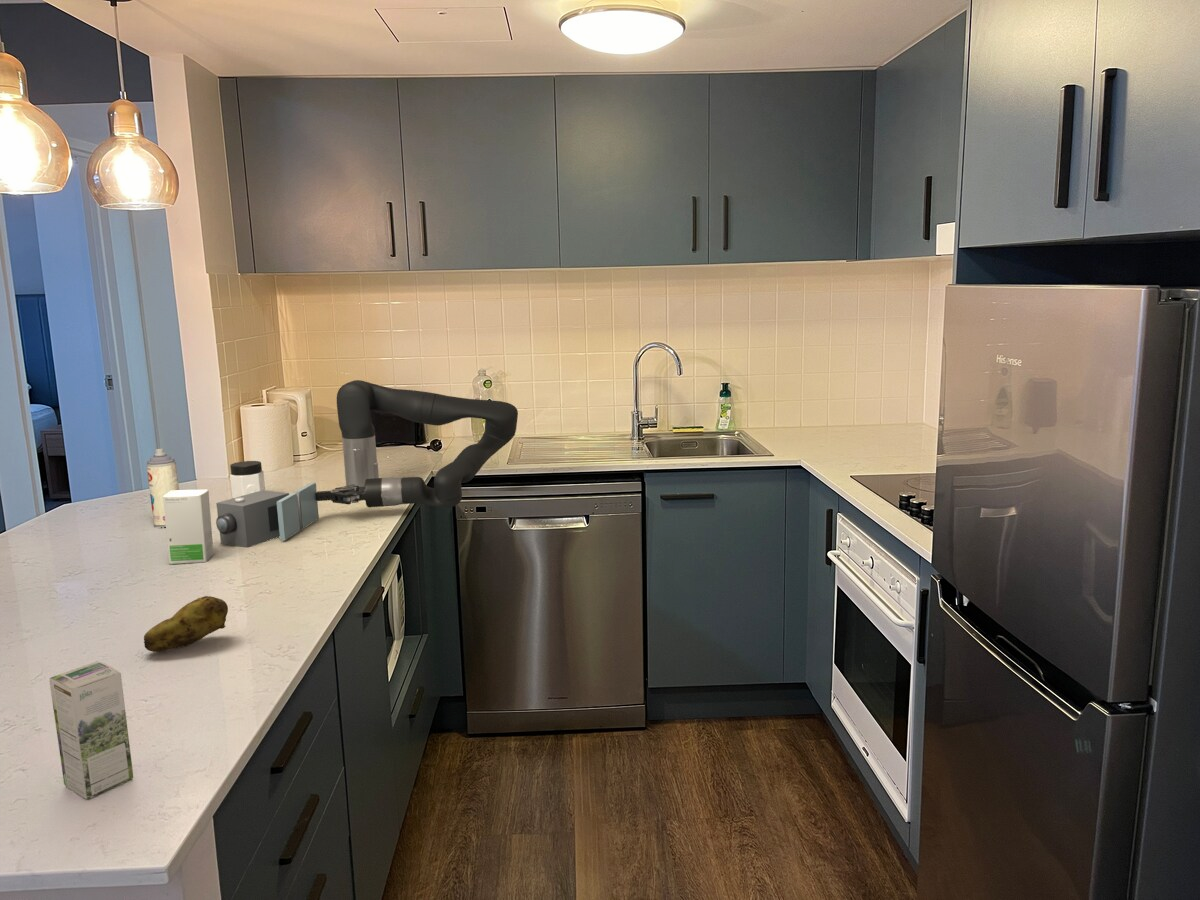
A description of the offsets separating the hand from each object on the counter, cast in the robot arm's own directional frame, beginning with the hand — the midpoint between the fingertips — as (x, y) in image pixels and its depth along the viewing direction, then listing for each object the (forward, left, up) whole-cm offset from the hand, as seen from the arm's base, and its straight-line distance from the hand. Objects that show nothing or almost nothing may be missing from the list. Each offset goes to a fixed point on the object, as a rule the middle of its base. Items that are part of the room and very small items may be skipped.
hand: (316, 496), depth 227 cm
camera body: (+15, +12, -6) cm, 20 cm away
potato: (+21, +78, -7) cm, 81 cm away
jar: (+18, -26, -7) cm, 33 cm away
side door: (+5, +9, -6) cm, 12 cm away
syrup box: (+26, +121, -7) cm, 124 cm away
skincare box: (+27, +24, -7) cm, 37 cm away
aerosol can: (+37, -12, -7) cm, 40 cm away
